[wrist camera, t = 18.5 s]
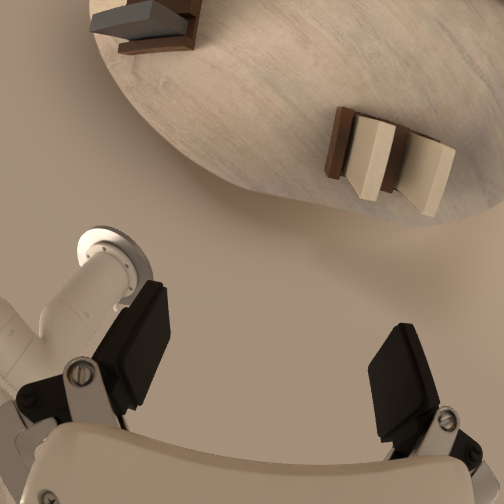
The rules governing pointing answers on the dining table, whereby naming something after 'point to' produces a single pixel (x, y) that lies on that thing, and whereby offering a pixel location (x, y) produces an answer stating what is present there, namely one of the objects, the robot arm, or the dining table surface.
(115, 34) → the grey book
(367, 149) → the white book
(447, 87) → the dining table surface
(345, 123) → the rack
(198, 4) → the rack
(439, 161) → the white book
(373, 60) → the dining table surface
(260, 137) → the dining table surface
